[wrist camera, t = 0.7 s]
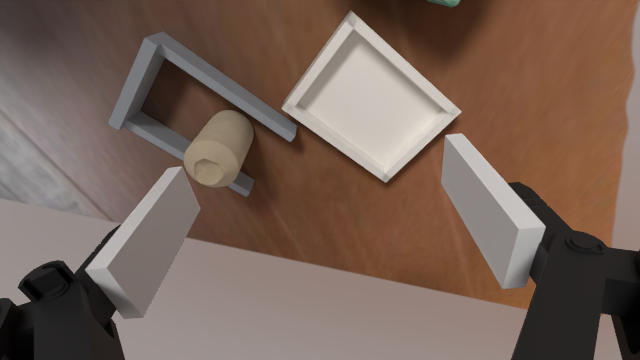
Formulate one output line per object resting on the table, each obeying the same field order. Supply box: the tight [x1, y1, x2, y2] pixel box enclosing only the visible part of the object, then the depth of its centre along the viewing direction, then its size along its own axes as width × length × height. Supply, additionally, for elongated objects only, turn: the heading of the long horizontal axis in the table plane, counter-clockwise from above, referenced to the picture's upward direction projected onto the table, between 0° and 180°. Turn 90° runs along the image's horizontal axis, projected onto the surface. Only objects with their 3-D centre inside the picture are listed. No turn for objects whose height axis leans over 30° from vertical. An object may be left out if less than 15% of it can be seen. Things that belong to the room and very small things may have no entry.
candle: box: [184, 110, 254, 187], centre depth 34 cm, size 6×6×10 cm
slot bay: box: [108, 32, 297, 197], centre depth 36 cm, size 17×11×4 cm, turn 52°
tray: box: [282, 10, 461, 183], centre depth 36 cm, size 16×12×2 cm
